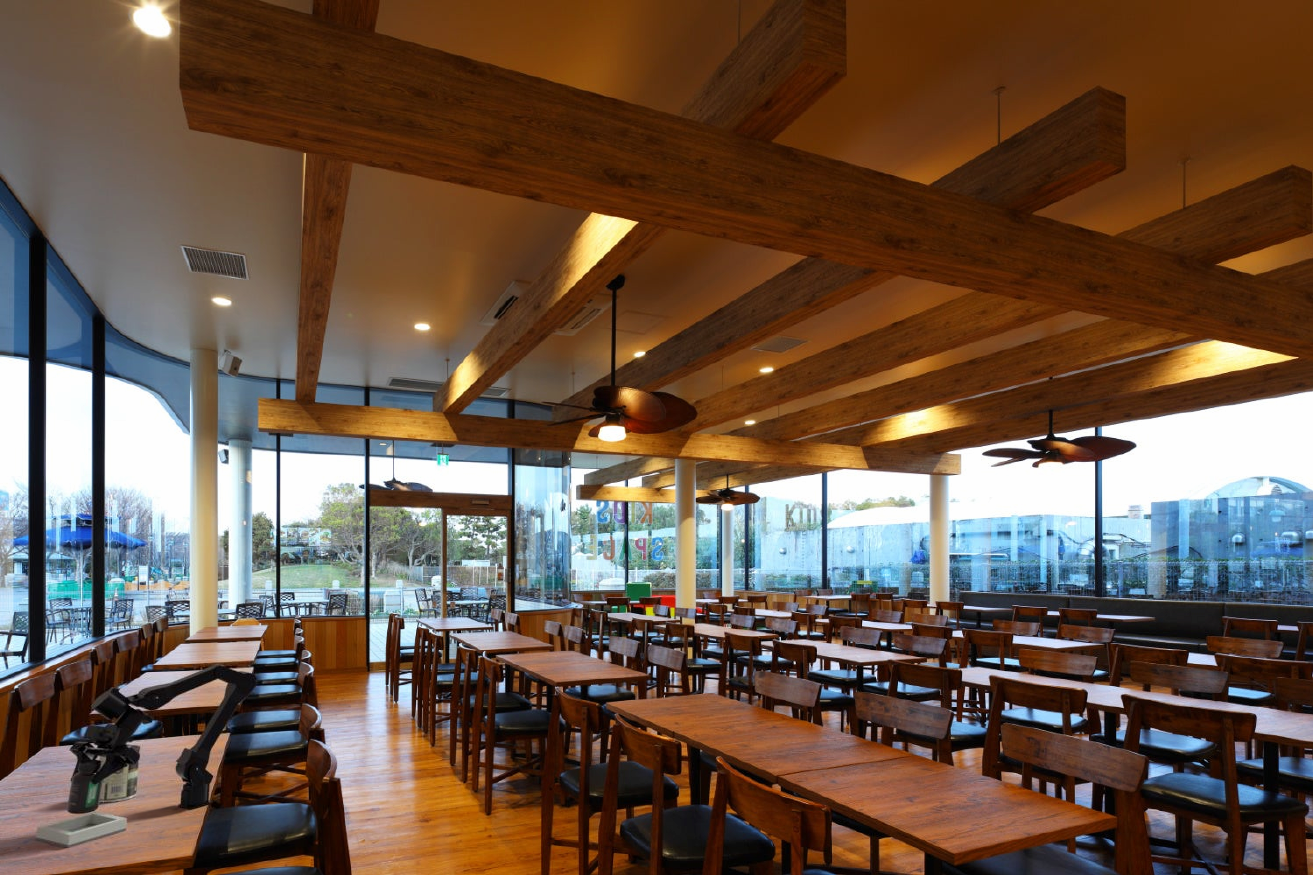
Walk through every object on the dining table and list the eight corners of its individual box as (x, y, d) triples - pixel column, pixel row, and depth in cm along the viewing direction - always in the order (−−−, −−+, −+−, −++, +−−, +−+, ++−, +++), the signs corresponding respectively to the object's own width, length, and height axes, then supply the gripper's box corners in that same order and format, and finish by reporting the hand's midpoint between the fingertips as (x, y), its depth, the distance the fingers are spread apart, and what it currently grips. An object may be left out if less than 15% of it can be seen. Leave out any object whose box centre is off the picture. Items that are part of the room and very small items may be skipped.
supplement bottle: (96, 813, 209) (104, 764, 210) (64, 815, 206) (72, 766, 207) (99, 804, 215) (107, 757, 216) (68, 806, 212) (76, 758, 213)
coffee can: (126, 791, 249) (130, 743, 251) (143, 796, 244) (147, 747, 246) (88, 799, 240) (93, 750, 242) (105, 805, 235) (109, 754, 237)
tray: (94, 823, 219) (95, 811, 219) (125, 830, 213) (126, 818, 213) (36, 839, 206) (37, 827, 207) (68, 847, 200) (69, 834, 201)
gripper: (79, 710, 220) (35, 763, 208) (133, 713, 215) (91, 767, 203) (103, 734, 226) (62, 787, 214) (157, 737, 221) (117, 791, 209)
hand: (82, 782), depth 210 cm, fingers closed on supplement bottle, 7 cm apart
